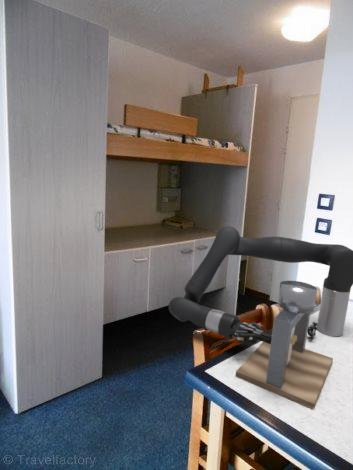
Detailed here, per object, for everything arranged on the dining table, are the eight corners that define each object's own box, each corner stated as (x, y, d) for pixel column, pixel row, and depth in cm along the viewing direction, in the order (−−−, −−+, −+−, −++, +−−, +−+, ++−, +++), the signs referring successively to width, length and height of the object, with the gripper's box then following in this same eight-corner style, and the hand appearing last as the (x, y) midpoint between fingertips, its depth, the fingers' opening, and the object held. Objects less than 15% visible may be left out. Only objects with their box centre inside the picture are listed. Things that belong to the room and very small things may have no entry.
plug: (273, 354, 102) (278, 318, 100) (294, 361, 99) (299, 324, 97) (268, 361, 98) (273, 323, 96) (289, 368, 95) (295, 330, 93)
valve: (277, 331, 122) (310, 343, 115) (279, 315, 121) (313, 325, 114) (283, 325, 128) (315, 336, 120) (286, 310, 126) (318, 320, 119)
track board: (267, 340, 115) (268, 336, 114) (332, 362, 103) (333, 358, 103) (235, 376, 93) (236, 371, 92) (313, 409, 81) (314, 404, 81)
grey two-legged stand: (283, 342, 111) (293, 273, 107) (314, 352, 106) (325, 280, 101) (255, 378, 90) (265, 293, 85) (292, 393, 84) (305, 304, 80)
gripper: (213, 319, 103) (267, 337, 93) (231, 306, 114) (281, 321, 104) (211, 341, 104) (264, 361, 95) (229, 326, 115) (278, 343, 105)
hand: (273, 340), depth 99 cm, fingers closed
